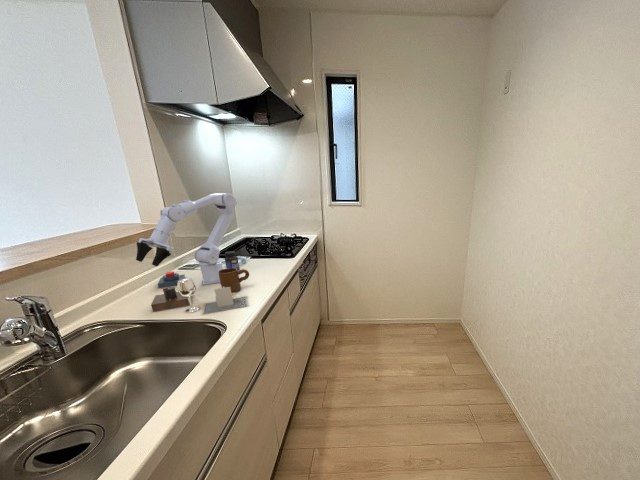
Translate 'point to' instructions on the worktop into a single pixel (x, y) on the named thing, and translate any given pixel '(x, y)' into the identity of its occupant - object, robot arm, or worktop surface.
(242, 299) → the architectural model
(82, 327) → the worktop surface
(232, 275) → the mug
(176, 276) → the button box
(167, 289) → the knob
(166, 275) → the button
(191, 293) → the wineglass
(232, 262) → the pill bottle
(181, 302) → the panel
